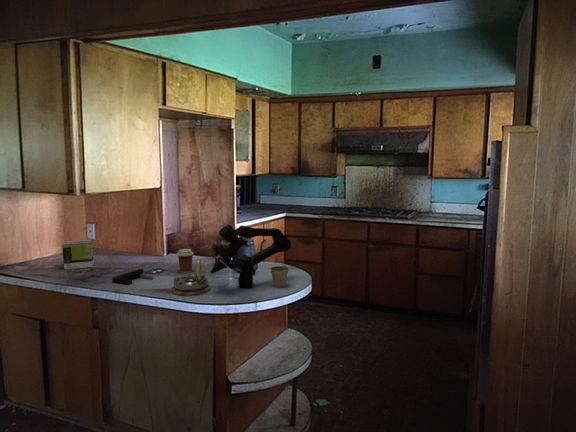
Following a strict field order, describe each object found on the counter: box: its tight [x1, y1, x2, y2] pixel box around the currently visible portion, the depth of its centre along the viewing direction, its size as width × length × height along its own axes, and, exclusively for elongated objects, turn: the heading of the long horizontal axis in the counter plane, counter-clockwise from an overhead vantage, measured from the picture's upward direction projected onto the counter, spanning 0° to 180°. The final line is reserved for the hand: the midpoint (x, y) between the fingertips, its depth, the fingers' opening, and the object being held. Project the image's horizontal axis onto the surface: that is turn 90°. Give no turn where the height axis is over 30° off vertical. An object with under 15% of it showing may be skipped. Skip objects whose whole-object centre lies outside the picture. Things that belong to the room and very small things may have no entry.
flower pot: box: [269, 265, 290, 288], centre depth 230 cm, size 9×9×9 cm
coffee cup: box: [176, 248, 195, 274], centre depth 257 cm, size 9×9×12 cm
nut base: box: [171, 283, 211, 297], centre depth 224 cm, size 18×18×2 cm
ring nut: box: [173, 259, 209, 292], centre depth 222 cm, size 16×16×14 cm
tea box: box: [61, 239, 95, 270], centre depth 268 cm, size 15×10×15 cm
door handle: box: [111, 268, 154, 286], centre depth 243 cm, size 3×20×16 cm
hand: (211, 273), depth 220 cm, fingers closed
